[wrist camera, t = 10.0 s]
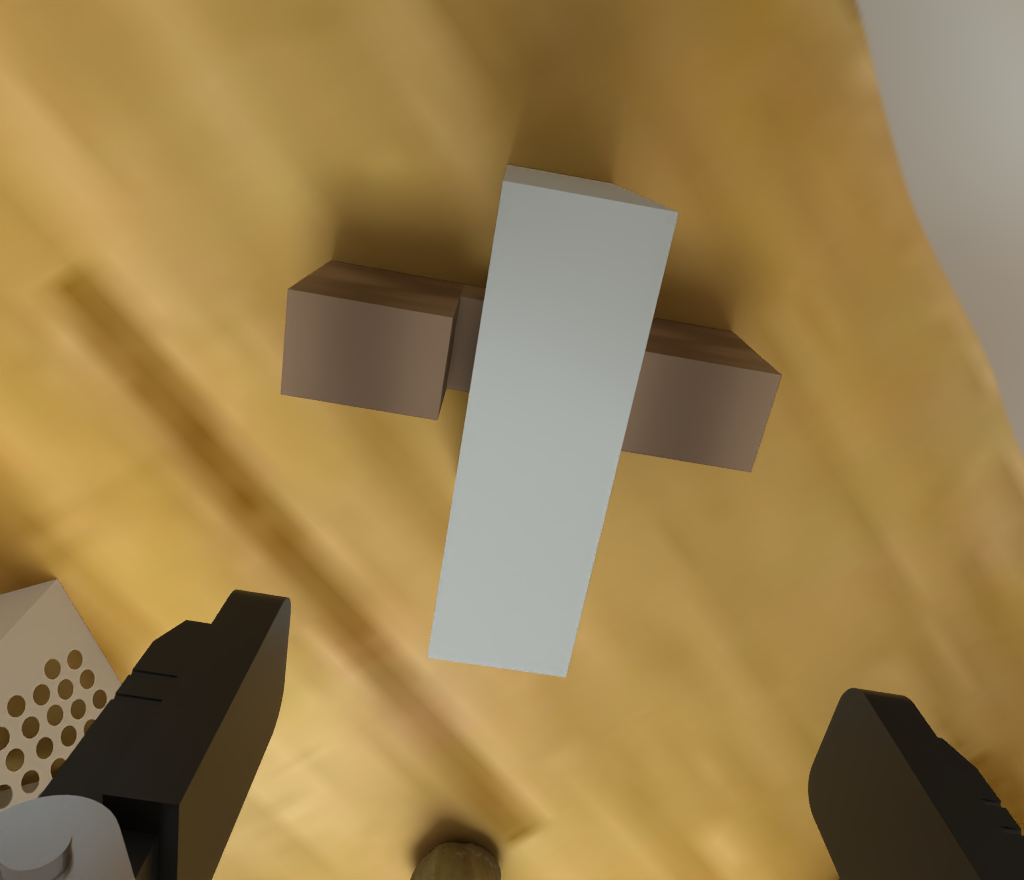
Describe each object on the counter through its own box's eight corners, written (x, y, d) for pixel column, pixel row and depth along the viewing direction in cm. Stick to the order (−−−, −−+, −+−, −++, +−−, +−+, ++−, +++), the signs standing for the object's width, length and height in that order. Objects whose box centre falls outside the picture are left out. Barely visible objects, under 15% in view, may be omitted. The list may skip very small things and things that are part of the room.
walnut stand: (732, 332, 30) (782, 375, 25) (708, 413, 32) (751, 472, 26) (331, 260, 29) (287, 288, 24) (323, 347, 31) (280, 394, 25)
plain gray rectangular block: (613, 183, 28) (678, 212, 17) (548, 495, 33) (566, 677, 22) (507, 164, 28) (502, 180, 17) (456, 481, 33) (427, 657, 22)
